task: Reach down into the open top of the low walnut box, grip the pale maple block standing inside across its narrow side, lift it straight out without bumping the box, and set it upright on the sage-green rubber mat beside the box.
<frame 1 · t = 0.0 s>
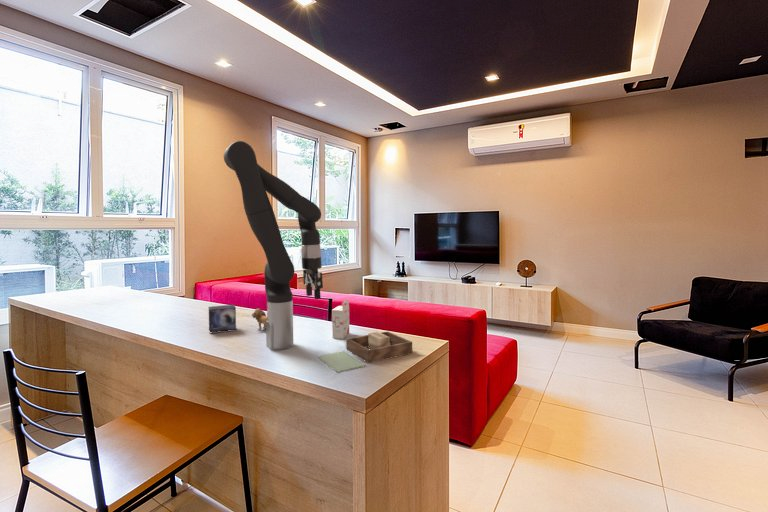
hand: (313, 297, 144), 17 cm above the table, tool pointing down, fingers open, 8 cm apart
small box: (222, 330, 159), on the table
ink cartridge box: (340, 336, 151), on the table
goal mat: (341, 361, 121), on the table
slot box: (378, 351, 131), on the table
lion figurine: (263, 331, 159), on the table
maple block: (378, 351, 132), resting in slot box
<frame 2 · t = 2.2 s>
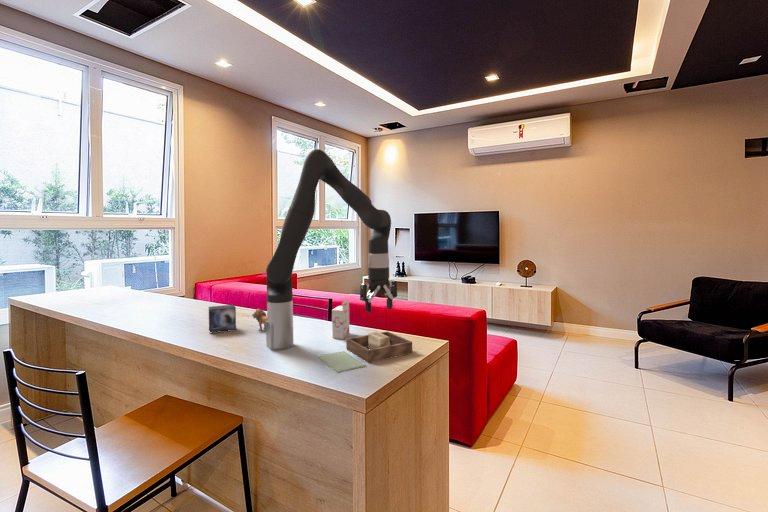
hand: (379, 310, 131), 15 cm above the table, tool pointing down, fingers open, 8 cm apart
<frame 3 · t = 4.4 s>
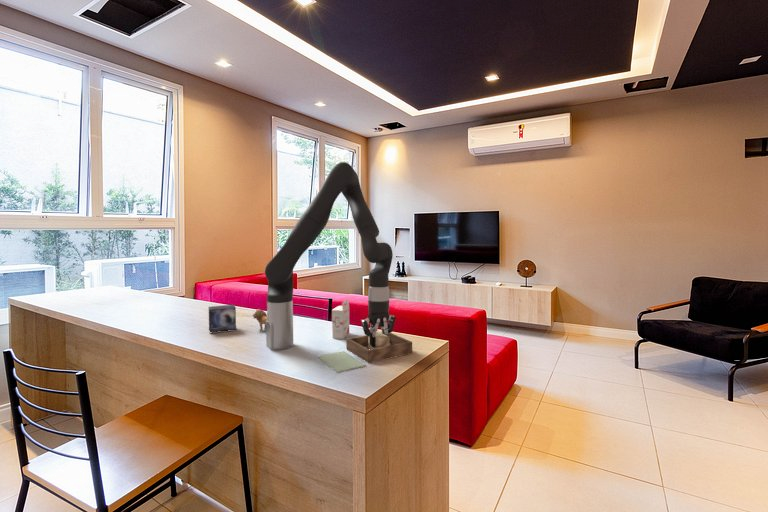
hand: (378, 345, 131), 2 cm above the table, tool pointing down, fingers closed on maple block, 4 cm apart
maple block: (378, 351, 132), resting in slot box, touching gripper
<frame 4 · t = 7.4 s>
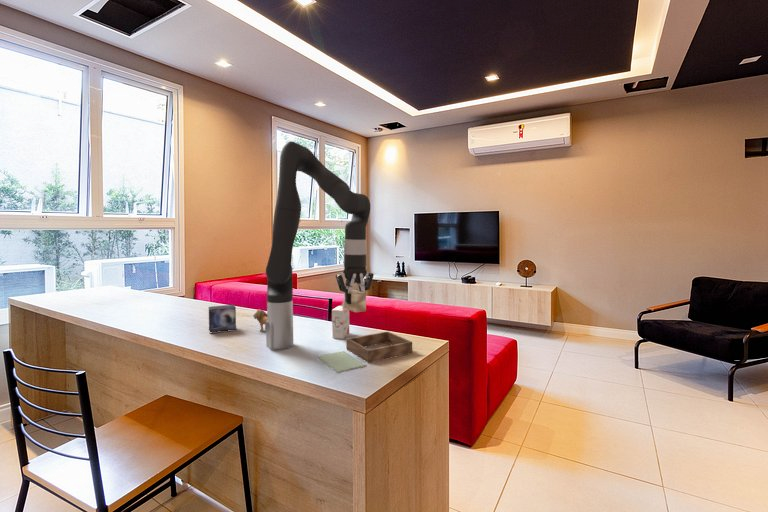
hand: (354, 303, 124), 19 cm above the table, tool pointing down, fingers closed on maple block, 4 cm apart
maple block: (354, 309, 124), point 17 cm above the table, touching gripper
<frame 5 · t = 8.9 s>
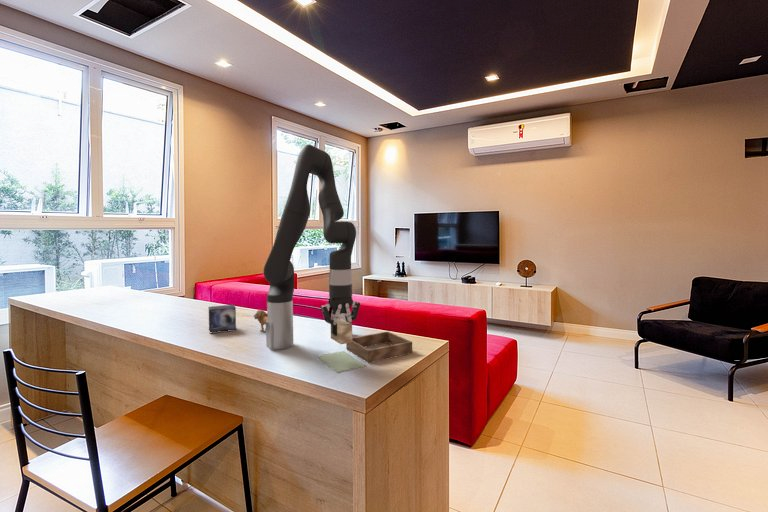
hand: (341, 333, 121), 9 cm above the table, tool pointing down, fingers closed on maple block, 4 cm apart
maple block: (341, 340, 121), point 7 cm above the table, touching gripper
when the fingers open (4 cm above the table, at t = 10.5 s): maple block stays where it is, resting on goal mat.
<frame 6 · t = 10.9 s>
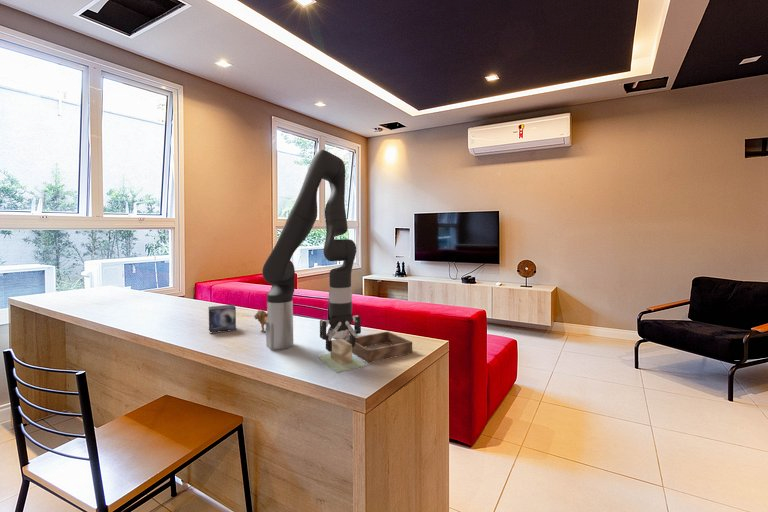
hand: (340, 348, 121), 4 cm above the table, tool pointing down, fingers open, 7 cm apart
maple block: (341, 360, 121), resting on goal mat
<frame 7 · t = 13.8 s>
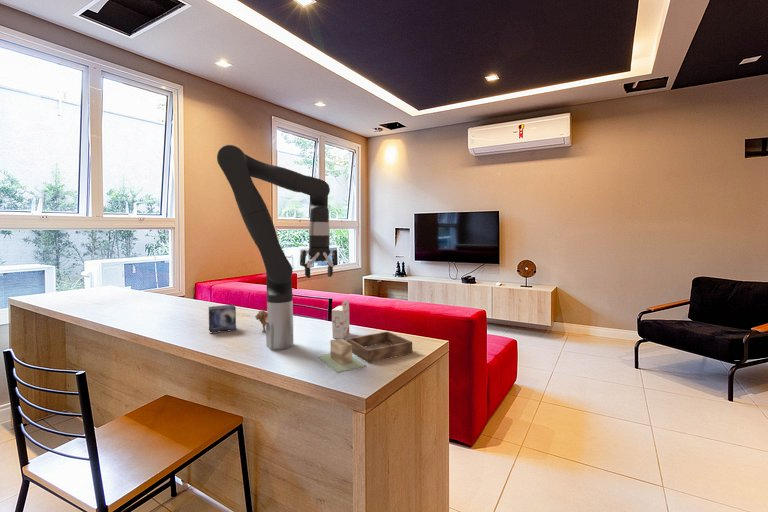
hand: (319, 277, 138), 26 cm above the table, tool pointing down, fingers open, 8 cm apart
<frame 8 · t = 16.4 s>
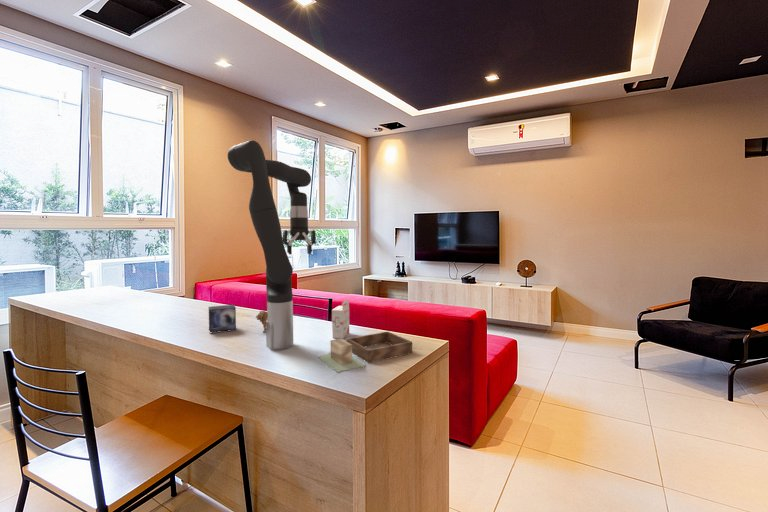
hand: (299, 254, 160), 33 cm above the table, tool pointing down, fingers open, 8 cm apart
at the end: maple block inside the target area on the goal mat (0.0 cm from its centre), point 0.4 cm above the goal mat's base; maple block tilted 0°; slot box moved 0.0 cm from its start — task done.
